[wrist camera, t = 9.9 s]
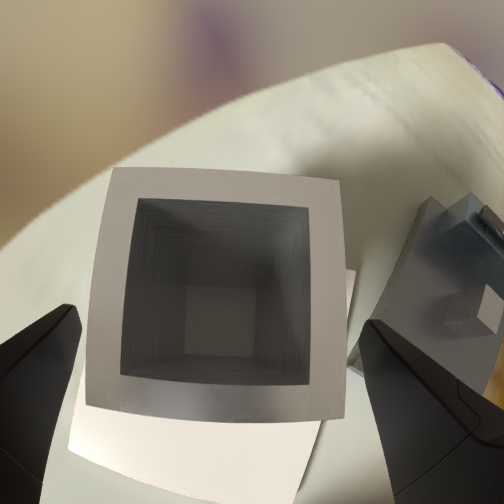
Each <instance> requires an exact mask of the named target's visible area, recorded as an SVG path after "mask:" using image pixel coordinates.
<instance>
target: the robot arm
mask: <svg viewBox="0 0 504 504" xmlns="http://www.w3.org/2000/svg"><path fill="white" fill-rule="evenodd" d="M81 333H82V324H81V321H80V318H79V314H78V311H77V308H76V306H75V305H71V304H62V305H60V306H59V307H57V308H56V309H54V310H53V311H51V312H49V313H48V314H46V315H45V316H43V317H42V318H40V319H39V320H37V321H35V322H34V323H32V324H31V325H29V326H28V327H26V328H25V329H23V330H22V331H20V332H19V333H17V334H16V335H14V336H13V337H11V338H10V339H8V340H7V341H5V342H4V343H2V344H1V345H0V504H39V502H40V496H41V490H42V485H43V483H42V482H43V478H44V473H45V468H46V464H47V459H48V455H49V450H50V446H51V442H52V438H53V434H54V430H55V427H56V423H57V419H58V416H59V412H60V409H61V406H62V402H63V399H64V396H65V392H66V389H67V386H68V383H69V380H70V377H71V374H72V370H73V366H74V362H75V357H76V353H77V349H78V345H79V341H80V337H81ZM358 346H359V351H360V356H361V362H362V368H363V373H364V379H365V384H366V388H367V392H368V395H369V399H370V403H371V406H372V410H373V413H374V417H375V421H376V424H377V428H378V432H379V436H380V440H381V444H382V448H383V452H384V456H385V460H386V464H387V469H388V473H389V477H390V482H391V486H392V491H393V496H394V501H395V504H504V410H503V409H501V408H499V407H498V406H496V405H495V404H493V403H492V402H490V401H489V400H487V399H486V398H484V397H483V396H481V395H480V394H478V393H477V392H475V391H474V390H473V389H471V388H470V387H469V386H467V385H466V384H465V383H463V382H462V381H461V380H460V379H458V378H456V376H454V375H453V374H452V373H450V372H449V371H448V370H446V369H445V368H444V367H442V366H441V365H440V364H439V363H437V362H436V361H435V360H433V359H432V358H431V357H429V356H428V355H427V354H425V353H424V352H423V351H421V350H420V349H419V348H417V347H416V346H415V345H413V344H412V343H411V342H409V341H408V340H407V339H405V338H404V337H403V336H401V335H400V334H399V333H397V332H396V331H395V330H393V329H392V328H391V327H389V326H388V325H387V324H385V323H384V322H383V321H381V320H380V319H368V320H366V322H365V324H364V326H363V329H362V332H361V334H360V337H359V340H358Z"/></svg>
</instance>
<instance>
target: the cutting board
mask: <svg viewBox="0 0 504 504" xmlns="http://www.w3.org/2000/svg"><path fill="white" fill-rule="evenodd" d="M355 275H356V271H353V270H350V269H346V289H347V317H348V312H349V307H350V302H351V297H352V292H353V286H354V281H355ZM255 308H256V289H246V288H226V287H207V286H191V285H188V293H187V308H186V326H185V348H184V353H185V354H199V355H215V356H238V357H254V342H255ZM85 365H86V359H85V363H84V367H83V371H82V375H81V380H80V384H79V389H78V394H77V399H76V404H75V409H74V415H73V420H72V426H71V433H70V439H69V446H68V450H70V451H72V452H74V453H76V454H78V455H80V456H82V457H84V458H86V459H88V460H91V461H93V462H95V463H97V464H99V465H101V466H104V467H106V468H108V469H111V470H113V471H115V472H118V473H120V474H123V475H125V476H128V477H131V478H133V479H136V480H139V481H141V482H144V483H147V484H150V485H153V486H156V487H159V488H162V489H165V490H169V491H172V492H175V493H179V494H183V495H186V496H190V497H194V498H198V499H202V500H206V501H211V502H215V503H220V504H292V503H293V500H294V498H295V495H296V493H297V490H298V488H299V485H300V482H301V480H302V477H303V474H304V471H305V469H306V466H307V463H308V460H309V457H310V454H311V451H312V448H313V445H314V442H315V439H316V436H317V433H318V430H319V427H320V423H321V421H309V422H291V423H218V422H201V421H187V420H177V419H167V418H158V417H151V416H143V415H137V414H130V413H124V412H118V411H113V410H108V409H103V408H98V407H93V406H88V405H86V401H85Z"/></svg>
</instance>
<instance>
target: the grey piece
mask: <svg viewBox="0 0 504 504" xmlns="http://www.w3.org/2000/svg"><path fill="white" fill-rule="evenodd" d="M370 319H380V320H381V321H383V322H384V323H385V324H387V325H388V326H389V327H391V328H392V329H393V330H395V331H396V332H397V333H399V334H400V335H401V336H403V337H404V338H405V339H407V340H408V341H409V342H411V343H412V344H413V345H415V346H416V347H417V348H419V349H420V350H421V351H423V352H424V353H425V354H427V355H428V356H429V357H431V358H432V359H433V360H435V361H436V362H437V363H439V364H440V365H441V366H442V367H444V368H445V369H446V370H448V371H449V372H450V373H452V374H453V375H454V376H456V378H458V379H460V380H461V381H462V382H463V383H465V384H466V385H467V386H469V387H470V388H471V389H473V390H474V391H475V392H477V393H478V394H480V395H481V396H482V395H483V392H484V390H485V387H486V385H487V382H488V380H489V377H490V375H491V372H492V369H493V367H494V364H495V361H496V358H497V355H498V352H499V349H500V346H501V343H502V340H503V336H504V223H503V222H502V220H501V219H500V218H499V217H498V216H497V215H496V214H495V213H494V212H493V211H492V210H491V209H490V208H489V207H488V206H487V205H484V204H483V203H482V202H481V201H480V200H479V199H477V198H476V197H475V196H474V195H473V194H472V193H470V194H468V195H467V196H466V197H464V198H463V199H461V200H460V201H458V202H457V203H455V204H454V205H453V206H451V207H450V208H448V209H446V208H445V207H443V206H442V205H441V204H440V203H439V202H438V201H436V200H435V199H434V198H433V197H432V196H431V197H430V198H428V199H427V200H426V201H424V202H423V203H422V204H421V206H420V208H419V211H418V214H417V216H416V219H415V221H414V224H413V226H412V229H411V231H410V234H409V236H408V239H407V241H406V243H405V246H404V248H403V250H402V253H401V255H400V257H399V259H398V262H397V264H396V266H395V268H394V270H393V273H392V275H391V277H390V279H389V281H388V283H387V285H386V287H385V289H384V291H383V293H382V295H381V297H380V299H379V301H378V303H377V305H376V307H375V309H374V311H373V313H372V315H371V317H370ZM358 340H359V339H358ZM347 368H349V369H351V370H352V371H354V372H355V373H357V374H359V375H360V376H362V377H364V373H363V368H362V362H361V356H360V351H359V346H358V341H357V343H356V344H355V346H354V348H353V350H352V351H351V353H350V355H349V357H348V358H347Z"/></svg>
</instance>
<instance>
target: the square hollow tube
mask: <svg viewBox="0 0 504 504" xmlns="http://www.w3.org/2000/svg"><path fill="white" fill-rule="evenodd" d="M188 285H191V286H207V287H226V288H246V289H256V308H255V342H254V357H238V356H215V355H199V354H185V353H184V348H185V326H186V308H187V293H188ZM346 369H347V289H346V263H345V244H344V229H343V216H342V204H341V194H340V184H339V180H332V179H324V178H315V177H306V176H296V175H286V174H275V173H263V172H250V171H235V170H218V169H196V168H158V167H114V168H113V171H112V175H111V179H110V183H109V188H108V192H107V196H106V201H105V205H104V210H103V215H102V220H101V225H100V230H99V236H98V242H97V248H96V254H95V261H94V268H93V275H92V283H91V291H90V301H89V311H88V324H87V339H86V365H85V401H86V405H88V406H93V407H98V408H103V409H108V410H113V411H118V412H124V413H130V414H137V415H143V416H151V417H158V418H167V419H177V420H187V421H201V422H218V423H291V422H309V421H322V420H333V419H342V418H344V412H345V394H346Z"/></svg>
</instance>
